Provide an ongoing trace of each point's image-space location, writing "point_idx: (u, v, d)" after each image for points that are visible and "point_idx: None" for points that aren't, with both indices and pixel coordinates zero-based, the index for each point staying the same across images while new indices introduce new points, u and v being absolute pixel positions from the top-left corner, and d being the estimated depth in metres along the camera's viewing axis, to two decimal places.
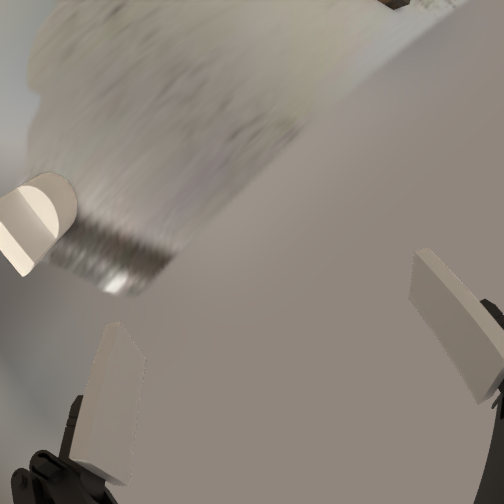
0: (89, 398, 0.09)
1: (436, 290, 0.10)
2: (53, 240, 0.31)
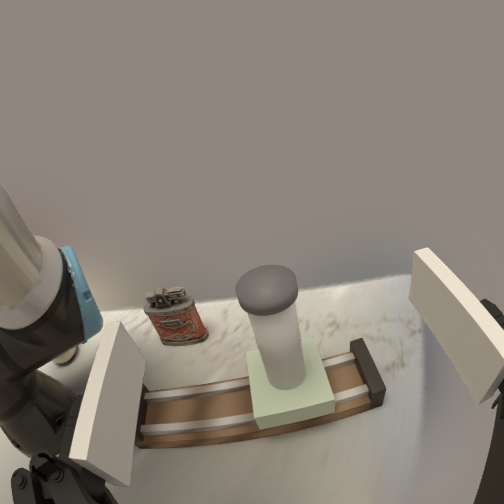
0: (89, 398, 0.09)
1: (436, 290, 0.10)
2: None
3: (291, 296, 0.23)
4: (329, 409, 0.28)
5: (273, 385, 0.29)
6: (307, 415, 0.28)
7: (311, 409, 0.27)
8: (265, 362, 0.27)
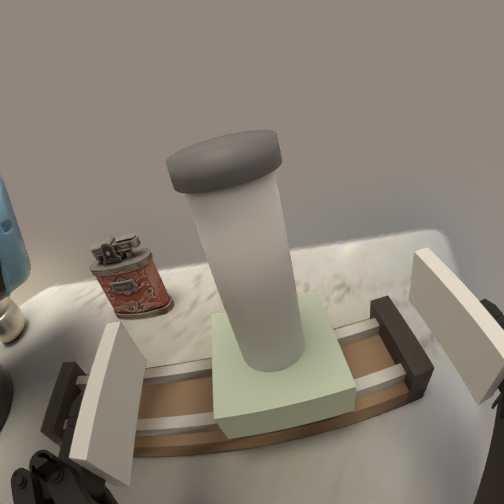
0: (89, 398, 0.09)
1: (436, 290, 0.10)
2: None
3: (267, 154, 0.11)
4: (346, 405, 0.16)
5: (249, 364, 0.18)
6: (308, 416, 0.16)
7: (315, 405, 0.15)
8: (230, 317, 0.16)
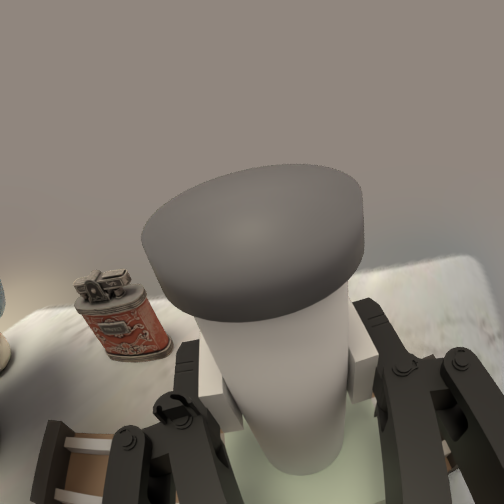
0: None
1: None
2: None
3: (352, 239, 0.05)
4: None
5: (275, 466, 0.12)
6: None
7: None
8: (255, 434, 0.10)
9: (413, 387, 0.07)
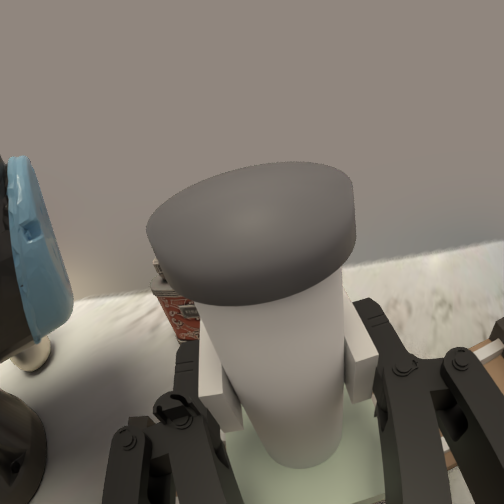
0: (207, 337, 0.10)
1: None
2: None
3: (342, 229, 0.06)
4: None
5: (274, 459, 0.12)
6: None
7: None
8: (254, 425, 0.10)
9: (413, 387, 0.07)
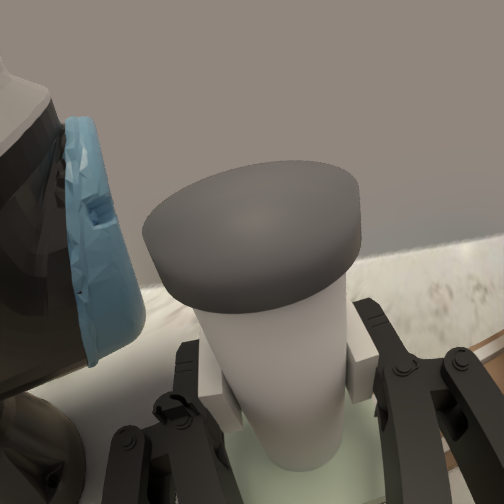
0: None
1: None
2: None
3: (349, 233, 0.05)
4: None
5: (274, 462, 0.12)
6: None
7: None
8: (254, 429, 0.10)
9: (413, 387, 0.07)
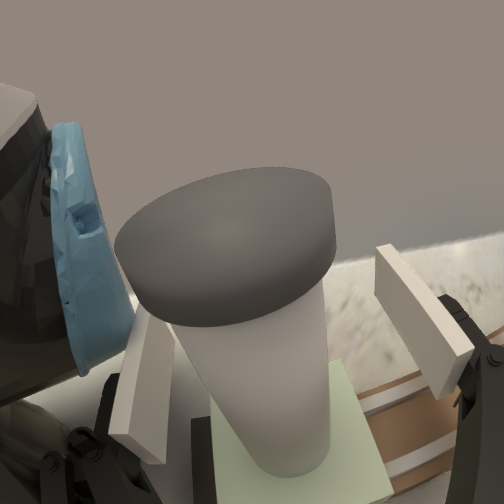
0: (127, 373, 0.09)
1: (395, 285, 0.11)
2: None
3: (319, 243, 0.05)
4: (377, 503, 0.10)
5: (262, 468, 0.12)
6: None
7: None
8: (239, 437, 0.10)
9: (501, 378, 0.06)
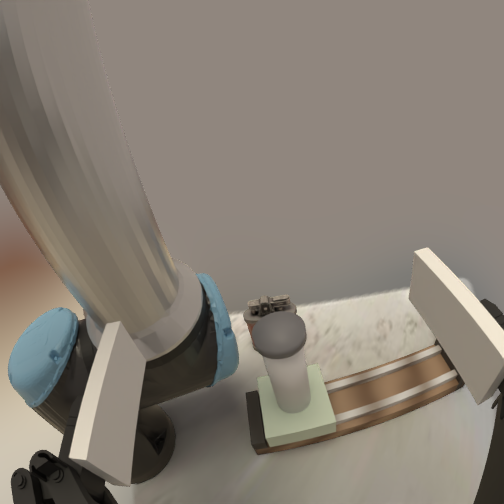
0: (89, 398, 0.09)
1: (436, 290, 0.10)
2: None
3: (301, 342, 0.25)
4: (331, 429, 0.30)
5: (282, 409, 0.32)
6: (312, 434, 0.30)
7: (315, 430, 0.30)
8: (276, 391, 0.30)
9: None
